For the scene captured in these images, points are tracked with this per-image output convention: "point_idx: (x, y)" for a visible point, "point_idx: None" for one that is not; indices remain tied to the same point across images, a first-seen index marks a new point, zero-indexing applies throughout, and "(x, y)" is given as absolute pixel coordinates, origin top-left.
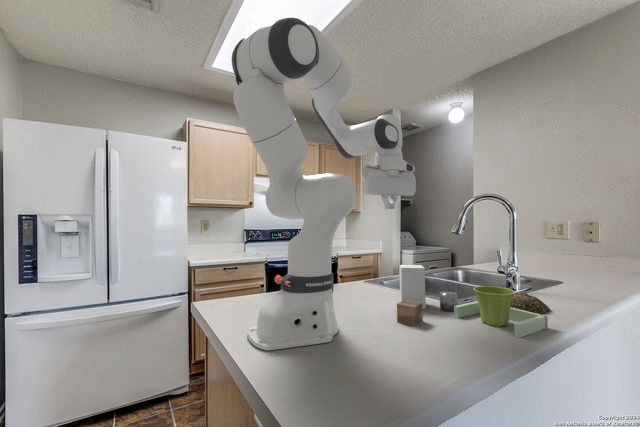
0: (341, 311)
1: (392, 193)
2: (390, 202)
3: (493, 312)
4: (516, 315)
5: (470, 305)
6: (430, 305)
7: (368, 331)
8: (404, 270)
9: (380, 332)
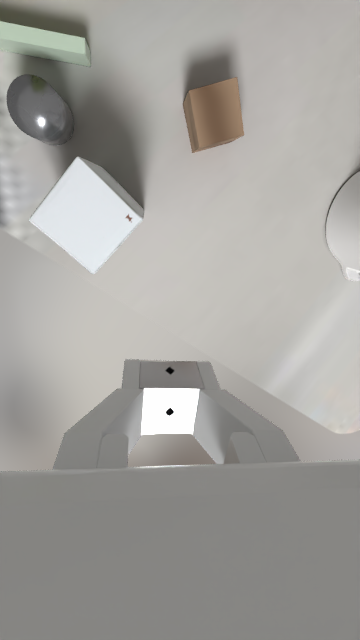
0: (260, 270)
1: (212, 466)
2: (133, 444)
3: None
4: None
5: (23, 27)
6: None
7: (314, 140)
8: (136, 210)
9: (303, 118)
